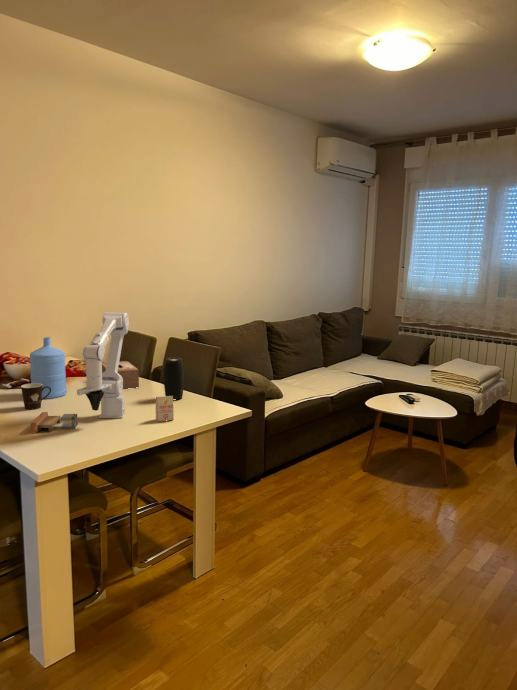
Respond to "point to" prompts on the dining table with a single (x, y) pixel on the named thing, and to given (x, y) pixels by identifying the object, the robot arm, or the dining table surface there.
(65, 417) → the open storage bin
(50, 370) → the water jug
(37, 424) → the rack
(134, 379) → the tissue box cover
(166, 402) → the small printed carton
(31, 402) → the coffee mug
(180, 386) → the portable speaker
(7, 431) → the dining table surface
